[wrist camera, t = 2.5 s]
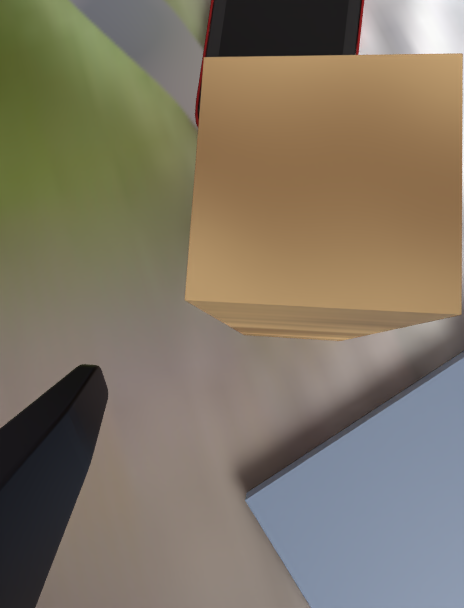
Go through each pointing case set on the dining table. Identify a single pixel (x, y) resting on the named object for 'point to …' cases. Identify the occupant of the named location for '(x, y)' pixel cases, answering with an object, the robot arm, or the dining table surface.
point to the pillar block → (328, 194)
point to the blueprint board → (378, 504)
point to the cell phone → (281, 29)
